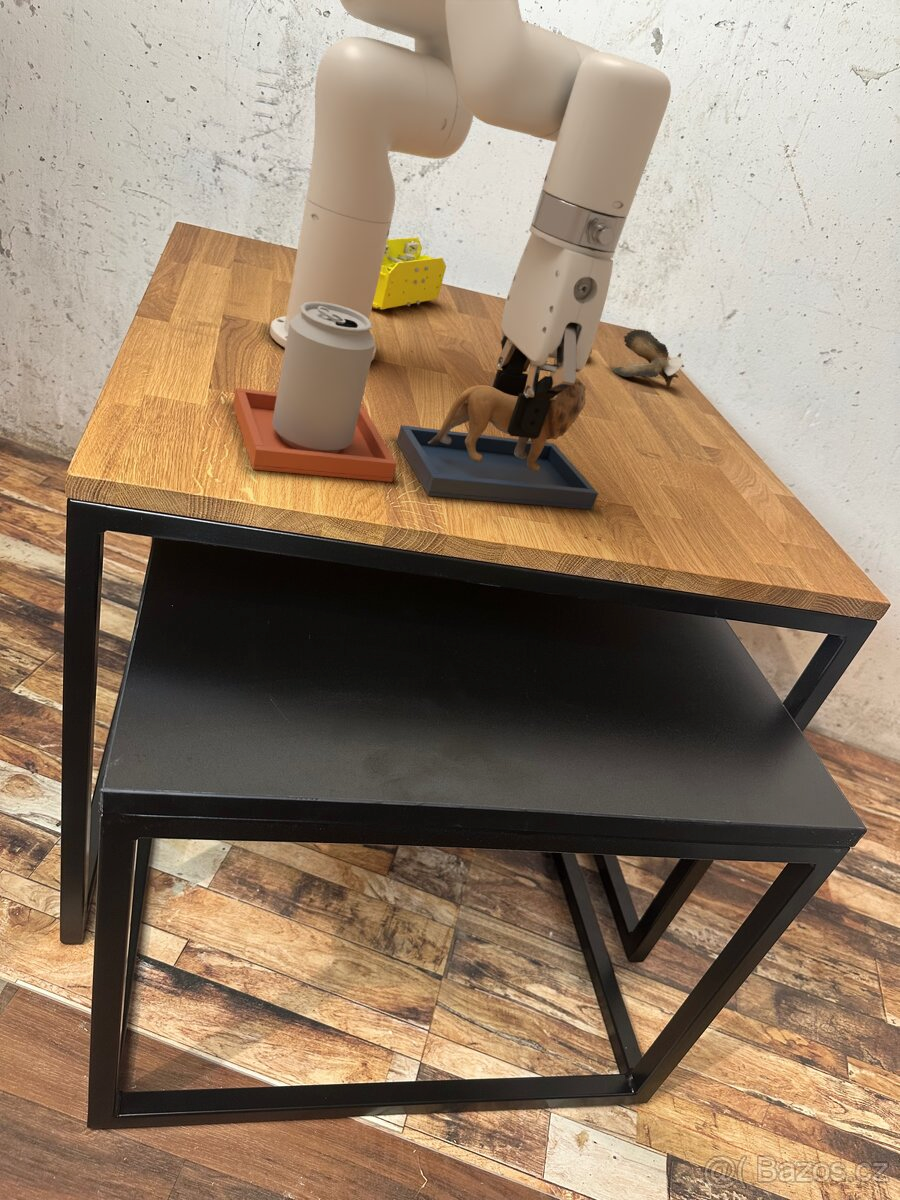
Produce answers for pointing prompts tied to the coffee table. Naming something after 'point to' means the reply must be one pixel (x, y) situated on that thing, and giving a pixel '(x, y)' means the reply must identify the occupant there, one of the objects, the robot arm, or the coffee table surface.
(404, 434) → the slate tray
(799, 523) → the coffee table surface
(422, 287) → the yellow toy chassis
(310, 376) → the can
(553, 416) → the lion figurine
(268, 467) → the terracotta tray
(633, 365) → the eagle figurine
